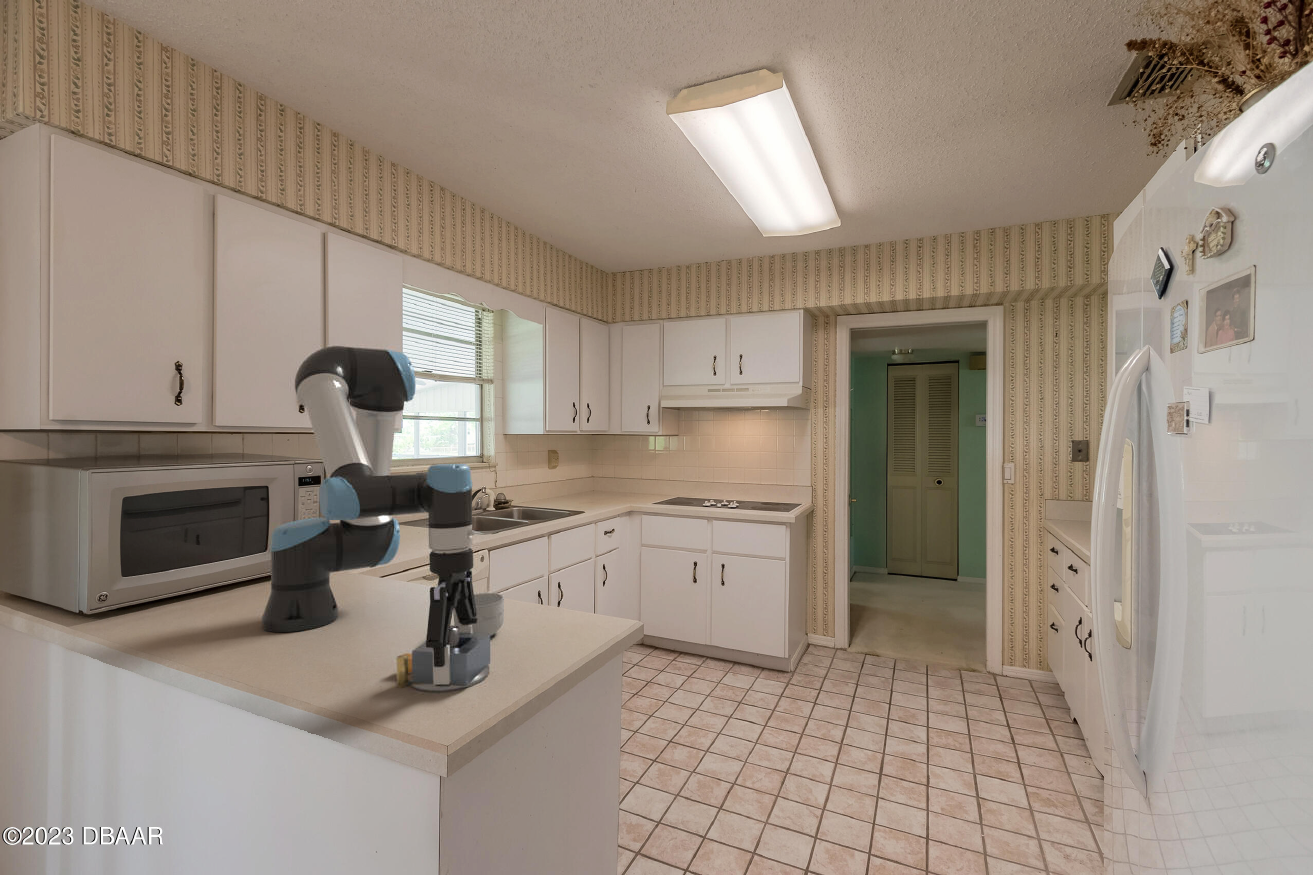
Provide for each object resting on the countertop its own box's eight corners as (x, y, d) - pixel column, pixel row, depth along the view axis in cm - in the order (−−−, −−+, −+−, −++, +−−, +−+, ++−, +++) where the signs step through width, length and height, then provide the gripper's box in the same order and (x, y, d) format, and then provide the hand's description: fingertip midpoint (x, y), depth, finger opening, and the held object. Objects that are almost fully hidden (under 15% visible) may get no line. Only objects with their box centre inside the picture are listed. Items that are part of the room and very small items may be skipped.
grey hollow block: (490, 662, 112) (490, 634, 112) (466, 685, 102) (466, 653, 102) (415, 658, 114) (415, 630, 114) (385, 680, 104) (385, 649, 104)
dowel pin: (394, 686, 103) (394, 657, 103) (403, 682, 105) (403, 654, 105) (401, 688, 103) (401, 659, 103) (410, 684, 104) (410, 655, 104)
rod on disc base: (390, 682, 105) (390, 634, 105) (449, 655, 118) (449, 612, 117) (449, 698, 99) (449, 647, 99) (505, 668, 111) (505, 622, 111)
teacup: (489, 645, 123) (489, 607, 123) (442, 641, 125) (442, 603, 125) (518, 624, 137) (518, 589, 137) (475, 620, 139) (475, 586, 139)
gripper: (446, 562, 96) (449, 698, 96) (492, 537, 119) (494, 648, 119) (401, 562, 97) (404, 698, 97) (455, 538, 119) (458, 648, 119)
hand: (454, 670), depth 108 cm, fingers closed on grey hollow block, 10 cm apart
